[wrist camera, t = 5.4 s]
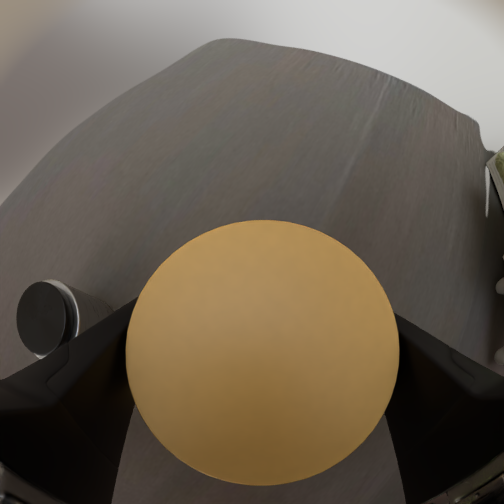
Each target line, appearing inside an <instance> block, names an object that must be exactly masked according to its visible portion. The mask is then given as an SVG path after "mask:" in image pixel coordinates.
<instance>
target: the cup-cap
mask: <svg viewBox="0 0 504 504" xmlns="http://www.w3.org/2000/svg"><path fill="white" fill-rule="evenodd" d="M398 367H399V337H398V330H397V325H396V320H395V316H394V313H393V310H392V307H391V305H390V302H389V300H388V298H387V296H386V294H385V292H384V290H383V288H382V286H381V284H380V283H379V281H378V280H377V278H376V277H375V275H374V274H373V272H372V271H371V270H370V269H369V268H368V267H367V266H366V264H365V263H364V262H363V261H362V260H361V259H360V258H359V257H358V256H357V255H355V254H354V253H353V252H352V251H351V250H350V249H348V248H347V247H346V246H344V245H343V244H341V243H340V242H338V241H337V240H335V239H333V238H332V237H330V236H328V235H326V234H324V233H322V232H320V231H317V230H314V229H312V228H309V227H306V226H303V225H299V224H295V223H290V222H284V221H275V220H252V221H245V222H237V223H233V224H229V225H225V226H222V227H218V228H216V229H213V230H211V231H208V232H206V233H204V234H202V235H200V236H198V237H196V238H194V239H193V240H191V241H189V242H187V243H186V244H185V245H183V246H182V247H181V248H179V249H178V250H177V251H175V252H174V253H173V254H172V255H171V256H169V257H168V258H167V259H166V260H165V261H164V262H163V263H162V264H161V265H160V266H159V268H158V269H157V270H156V271H155V273H154V274H153V275H152V276H151V278H150V279H149V280H148V282H147V284H146V285H145V287H144V289H143V290H142V292H141V294H140V295H139V298H138V300H137V302H136V305H135V307H134V310H133V312H132V316H131V319H130V323H129V327H128V332H127V340H126V370H127V376H128V382H129V386H130V389H131V392H132V396H133V399H134V402H135V404H136V406H137V408H138V410H139V412H140V414H141V416H142V418H143V420H144V421H145V423H146V424H147V426H148V427H149V429H150V430H151V432H152V433H153V435H154V436H155V437H156V438H157V439H158V440H159V441H160V442H161V443H162V445H163V446H164V447H165V448H166V449H167V450H169V451H170V452H171V453H172V454H173V455H175V456H176V457H177V458H178V459H180V460H181V461H182V462H184V463H186V464H187V465H189V466H190V467H192V468H194V469H195V470H197V471H200V472H202V473H204V474H206V475H209V476H211V477H213V478H217V479H220V480H223V481H227V482H231V483H236V484H243V485H253V486H270V485H279V484H287V483H291V482H295V481H299V480H303V479H306V478H309V477H311V476H314V475H316V474H319V473H321V472H323V471H325V470H327V469H329V468H330V467H332V466H334V465H336V464H337V463H339V462H340V461H342V460H343V459H344V458H346V457H347V456H348V455H350V454H351V453H352V452H353V451H354V450H355V449H356V448H357V447H359V446H360V445H361V444H362V443H363V442H364V441H365V439H366V438H367V437H368V436H369V435H370V433H371V432H372V431H373V430H374V428H375V427H376V425H377V424H378V422H379V420H380V419H381V417H382V416H383V414H384V412H385V410H386V408H387V406H388V403H389V401H390V399H391V396H392V393H393V390H394V386H395V383H396V379H397V373H398Z"/></svg>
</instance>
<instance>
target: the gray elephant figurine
mask: <svg viewBox="0 0 504 504" xmlns="http://www.w3.org/2000/svg"><path fill="white" fill-rule="evenodd" d="M496 291H497V293H499V294H504V277H503V278H502V279H501V280H499V281H498V283H497V284H496ZM494 359H495V361H496V363H498V364H500V365H504V347H502V348H500V349H499V350H497V352H496V353H495V356H494Z"/></svg>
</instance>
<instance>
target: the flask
mask: <svg viewBox="0 0 504 504" xmlns="http://www.w3.org/2000/svg"><path fill="white" fill-rule="evenodd" d="M112 313H114V312H113V311H112V309H111V308H110V307H109V306H108V305H107V304H106V303H104V302H102V301H101V300H98V299H96V298H94V297H92V296H90V295H87V294H85V293H83V292H81V291H79V290H77V289H75V288H73V287H71V286H69V285H67V284H65V283H63V282H61V281H58V280H54V279H49V280H44V281H41V282H36V283H34V284H32V285H31V286H29V287H28V288H27V289H26V290H25V292H24V293H23V295H22V297H21V299H20V301H19V304H18V308H17V328H18V332H19V335H20V338H21V340H22V342H23V343H24V345H25V346H26V347H27V348H28V349H29V350H30V351H31V352H32V353H34V355H36V356H37V357H38V358H39V359H42V358H44V357H45V356H47V355H49V354H50V353H52V352H53V351H55V350H57V349H58V348H60V347H61V346H63V345H64V344H66V343H68V342H69V341H70V340H72V339H73V338H75V337H76V336H78V335H79V334H81V333H83V332H84V331H86V330H87V329H89V328H90V327H92V326H93V325H95V324H96V323H98V322H100V321H101V320H103V319H104V318H106V317H107V316H109V315H110V314H112Z"/></svg>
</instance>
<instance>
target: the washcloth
mask: <svg viewBox="0 0 504 504" xmlns="http://www.w3.org/2000/svg"><path fill="white" fill-rule="evenodd" d="M495 166H496V169H497V171H498V172H499V175H500V177H501V178H502V180H503V184H504V152H501V153H498V154H497V157H496V158H495Z"/></svg>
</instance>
